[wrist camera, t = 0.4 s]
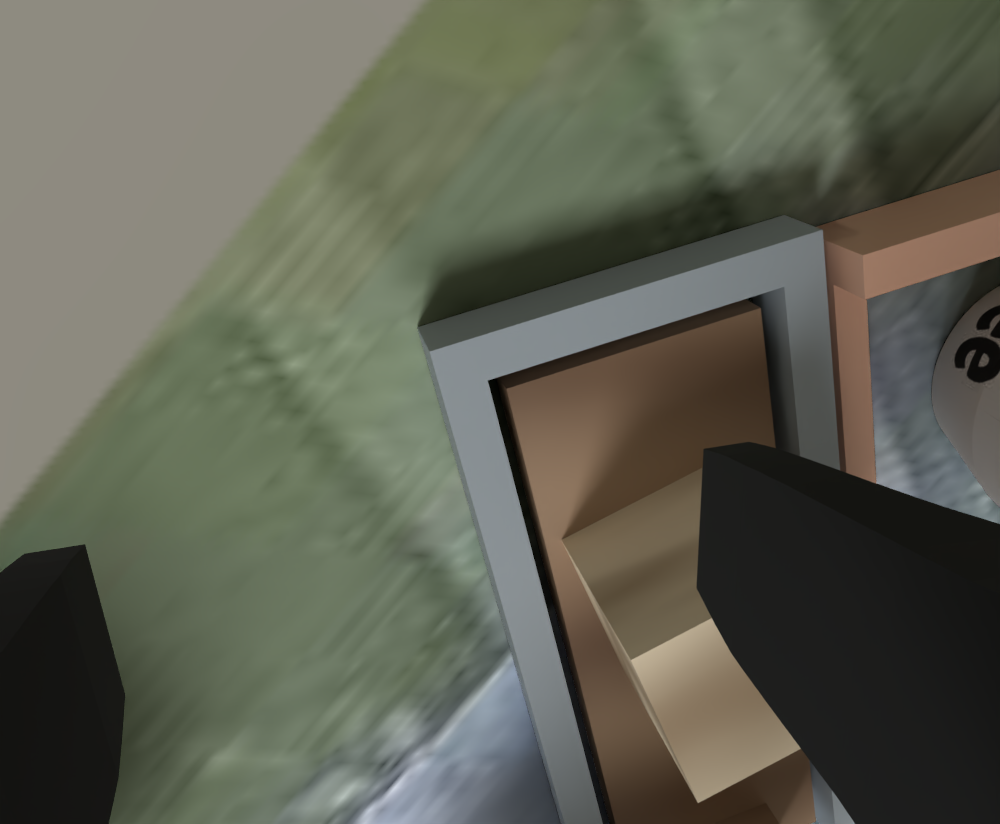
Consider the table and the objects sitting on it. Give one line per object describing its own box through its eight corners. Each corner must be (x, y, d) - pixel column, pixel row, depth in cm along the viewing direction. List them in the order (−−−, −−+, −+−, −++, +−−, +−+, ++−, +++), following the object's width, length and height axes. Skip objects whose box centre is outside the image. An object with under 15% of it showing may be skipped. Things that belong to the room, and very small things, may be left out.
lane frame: (1192, 658, 31) (1237, 689, 30) (582, 897, 29) (599, 944, 27) (1277, 64, 23) (1346, 67, 21) (417, 327, 20) (429, 351, 19)
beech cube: (776, 589, 24) (881, 706, 20) (623, 669, 24) (697, 803, 20) (729, 453, 22) (836, 553, 18) (561, 539, 22) (630, 660, 18)
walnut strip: (795, 791, 29) (897, 939, 24) (618, 860, 28) (689, 1026, 24) (735, 293, 22) (867, 370, 17) (493, 369, 21) (561, 472, 16)
